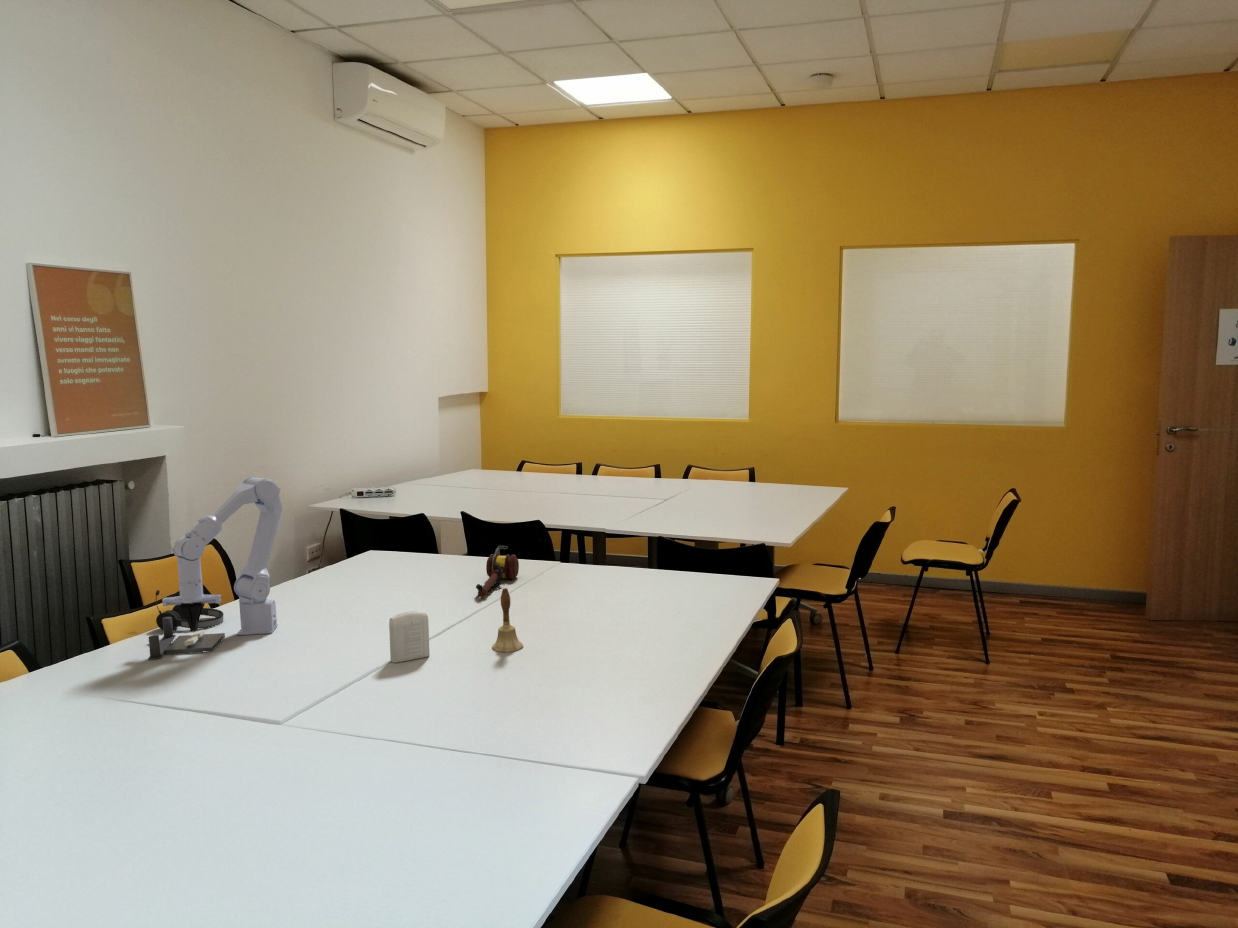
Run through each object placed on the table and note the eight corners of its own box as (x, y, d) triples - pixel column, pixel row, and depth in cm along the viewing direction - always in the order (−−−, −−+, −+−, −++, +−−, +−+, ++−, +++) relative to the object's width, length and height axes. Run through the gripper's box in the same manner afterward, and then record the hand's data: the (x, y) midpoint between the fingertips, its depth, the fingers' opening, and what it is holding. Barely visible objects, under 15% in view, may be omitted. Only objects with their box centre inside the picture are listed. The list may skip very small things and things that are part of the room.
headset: (165, 585, 278) (231, 591, 278) (164, 616, 279) (230, 622, 279) (142, 597, 265) (212, 603, 265) (141, 629, 266) (211, 635, 266)
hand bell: (485, 649, 243) (483, 590, 241) (503, 640, 251) (501, 583, 249) (511, 654, 239) (509, 594, 238) (529, 644, 247) (527, 586, 245)
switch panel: (224, 637, 259) (224, 632, 258) (211, 651, 246) (211, 647, 246) (179, 639, 257) (179, 635, 257) (164, 654, 244) (163, 650, 244)
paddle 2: (204, 632, 256) (203, 629, 256) (200, 636, 252) (199, 633, 252) (195, 635, 256) (194, 631, 256) (191, 639, 252) (190, 635, 252)
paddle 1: (198, 639, 250) (197, 635, 250) (194, 643, 247) (193, 639, 246) (189, 641, 250) (188, 638, 250) (185, 645, 246) (184, 642, 246)
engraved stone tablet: (426, 652, 242) (424, 606, 241) (432, 656, 238) (430, 610, 237) (388, 660, 236) (385, 613, 235) (393, 664, 233) (391, 617, 231)
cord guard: (175, 636, 261) (173, 616, 260) (160, 659, 240) (158, 637, 240) (164, 637, 260) (162, 617, 259) (148, 661, 240) (146, 638, 239)
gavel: (497, 607, 294) (466, 606, 295) (521, 573, 327) (494, 572, 328) (495, 577, 292) (465, 576, 293) (520, 545, 325) (492, 545, 326)
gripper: (157, 586, 244) (160, 635, 246) (214, 583, 246) (218, 632, 248) (165, 579, 251) (169, 628, 253) (221, 576, 253) (225, 625, 255)
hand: (194, 629), depth 251 cm, fingers closed
